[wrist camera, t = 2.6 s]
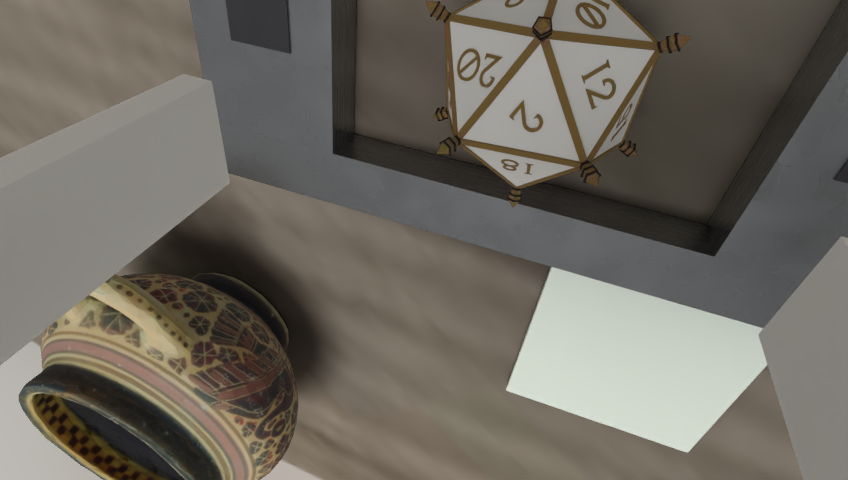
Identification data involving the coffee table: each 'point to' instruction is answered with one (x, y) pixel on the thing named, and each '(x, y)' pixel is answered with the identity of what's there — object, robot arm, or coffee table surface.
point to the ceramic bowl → (167, 380)
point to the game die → (544, 84)
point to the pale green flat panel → (634, 359)
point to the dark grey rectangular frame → (540, 203)
